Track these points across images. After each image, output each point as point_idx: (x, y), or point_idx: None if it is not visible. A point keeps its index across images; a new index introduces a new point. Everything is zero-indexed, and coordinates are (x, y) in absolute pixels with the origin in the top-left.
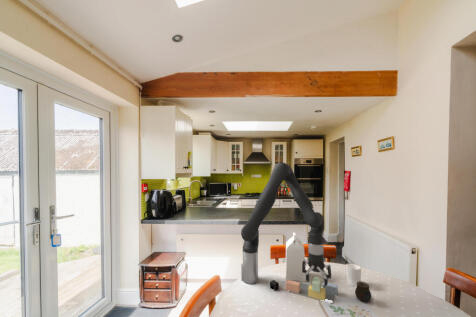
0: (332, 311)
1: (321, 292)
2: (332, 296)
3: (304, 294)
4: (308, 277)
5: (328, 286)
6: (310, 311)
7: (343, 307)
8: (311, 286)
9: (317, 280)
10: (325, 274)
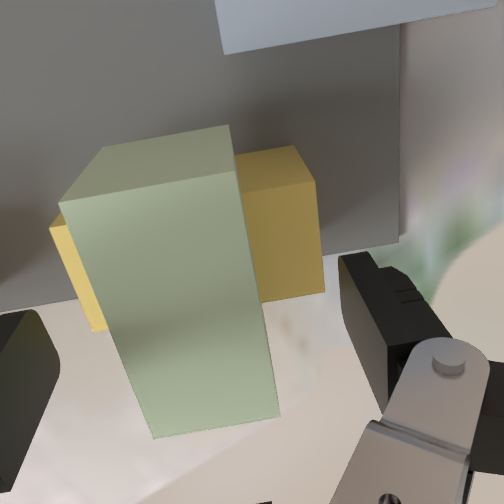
0: None
1: (283, 292)
2: (370, 74)
3: (61, 266)
4: (27, 433)
5: (333, 32)
6: (240, 428)
7: (500, 208)
8: None
9: (201, 329)
10: (445, 426)
